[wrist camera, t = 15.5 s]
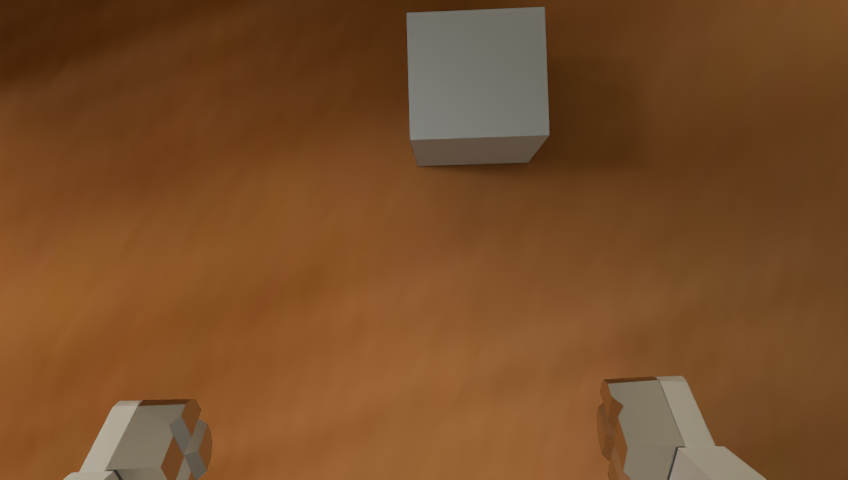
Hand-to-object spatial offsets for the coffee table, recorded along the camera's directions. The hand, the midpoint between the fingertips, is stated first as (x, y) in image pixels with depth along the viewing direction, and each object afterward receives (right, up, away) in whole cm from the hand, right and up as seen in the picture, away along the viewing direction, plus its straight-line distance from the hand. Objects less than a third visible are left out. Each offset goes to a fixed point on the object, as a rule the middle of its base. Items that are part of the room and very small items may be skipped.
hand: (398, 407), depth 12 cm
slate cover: (+3, +10, +21) cm, 24 cm away
